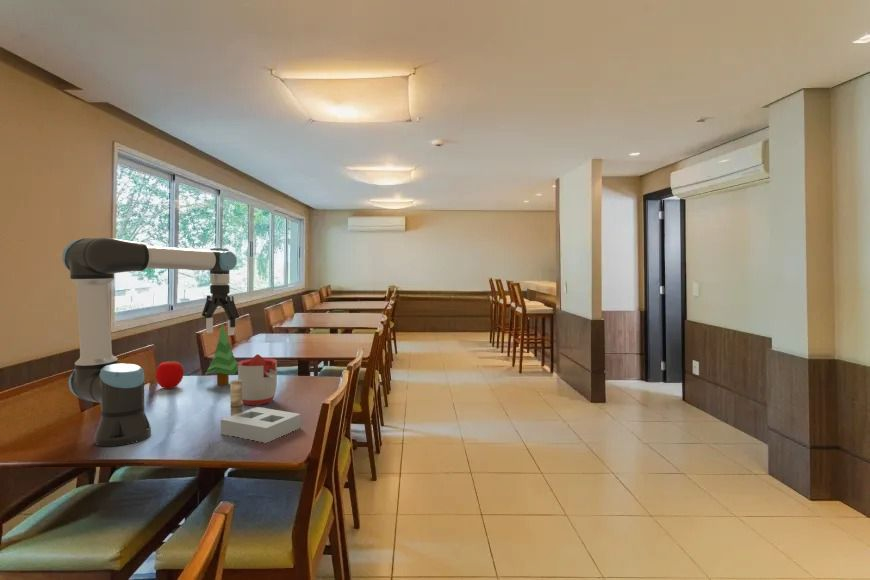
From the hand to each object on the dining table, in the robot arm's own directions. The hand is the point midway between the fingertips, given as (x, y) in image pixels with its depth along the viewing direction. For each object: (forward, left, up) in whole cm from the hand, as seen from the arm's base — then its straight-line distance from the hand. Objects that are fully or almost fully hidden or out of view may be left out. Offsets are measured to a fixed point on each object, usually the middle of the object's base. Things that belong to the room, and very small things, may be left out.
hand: (220, 334), depth 197 cm
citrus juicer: (+2, -20, -28) cm, 34 cm away
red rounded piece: (+2, +35, -28) cm, 44 cm away
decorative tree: (+17, +18, -28) cm, 37 cm away
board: (-24, -47, -27) cm, 60 cm away
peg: (-18, -29, -27) cm, 44 cm away
